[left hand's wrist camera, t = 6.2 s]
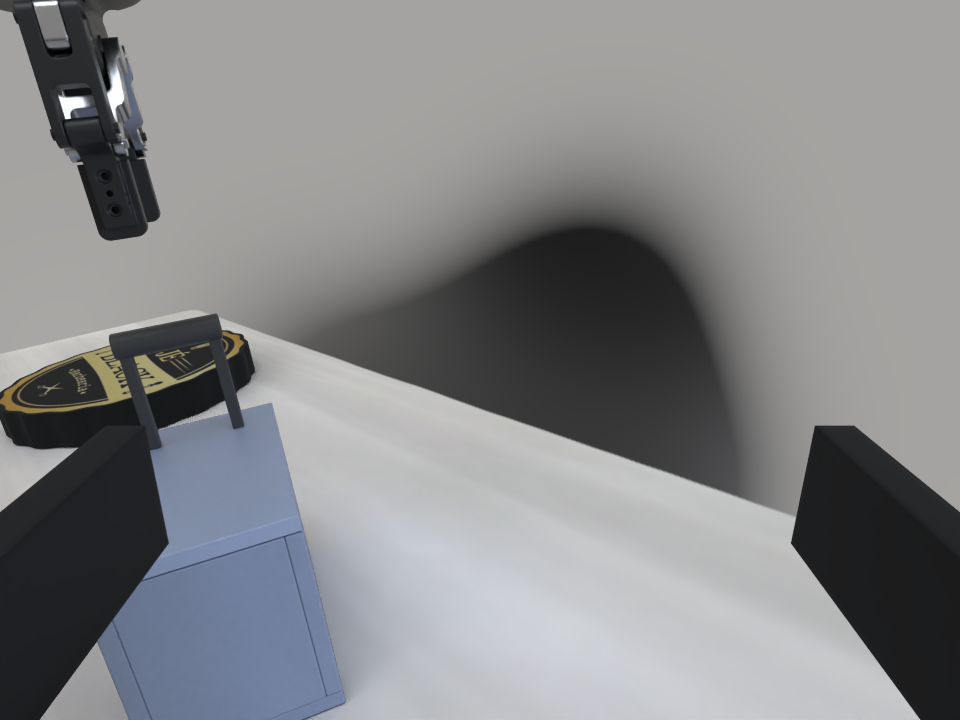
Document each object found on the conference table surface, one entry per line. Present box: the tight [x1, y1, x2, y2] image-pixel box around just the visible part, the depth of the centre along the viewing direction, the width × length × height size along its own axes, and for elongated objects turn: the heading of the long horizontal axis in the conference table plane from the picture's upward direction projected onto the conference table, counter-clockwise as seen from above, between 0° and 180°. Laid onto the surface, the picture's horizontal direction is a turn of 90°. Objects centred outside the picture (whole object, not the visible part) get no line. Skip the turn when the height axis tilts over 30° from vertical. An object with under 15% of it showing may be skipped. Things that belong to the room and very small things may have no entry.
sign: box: [0, 330, 255, 448], centre depth 85 cm, size 30×4×30 cm
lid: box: [109, 314, 302, 580], centre depth 35 cm, size 16×10×8 cm, turn 22°
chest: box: [97, 429, 345, 720], centre depth 38 cm, size 15×10×11 cm, turn 22°
